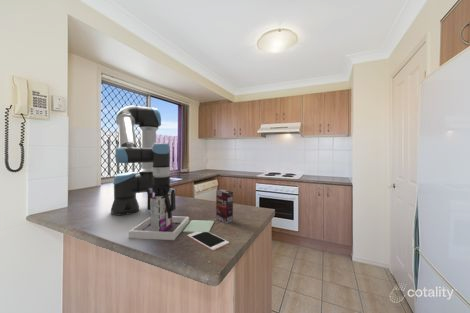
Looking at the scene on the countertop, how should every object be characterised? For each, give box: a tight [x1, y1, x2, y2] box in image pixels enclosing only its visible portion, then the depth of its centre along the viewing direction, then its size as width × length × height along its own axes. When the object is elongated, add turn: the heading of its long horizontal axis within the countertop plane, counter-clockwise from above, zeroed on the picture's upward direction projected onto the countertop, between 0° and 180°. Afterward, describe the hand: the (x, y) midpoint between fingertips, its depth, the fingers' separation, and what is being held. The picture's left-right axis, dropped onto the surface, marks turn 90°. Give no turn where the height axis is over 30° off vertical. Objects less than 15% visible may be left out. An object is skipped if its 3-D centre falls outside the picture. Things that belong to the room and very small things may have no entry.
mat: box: [182, 219, 215, 234], centre depth 97 cm, size 12×14×1 cm
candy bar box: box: [149, 192, 173, 232], centre depth 93 cm, size 11×5×16 cm, turn 169°
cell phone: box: [186, 232, 230, 252], centre depth 84 cm, size 9×18×1 cm, turn 46°
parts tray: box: [128, 215, 190, 241], centre depth 94 cm, size 20×20×3 cm
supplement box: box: [215, 189, 234, 224], centre depth 106 cm, size 9×5×16 cm, turn 47°
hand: (161, 224), depth 94 cm, fingers closed on candy bar box, 5 cm apart
